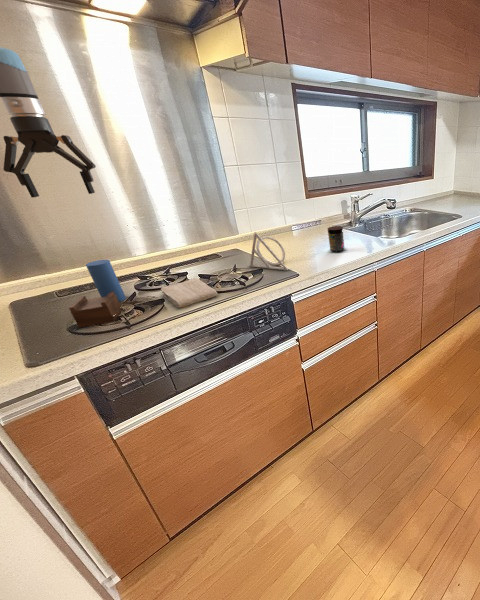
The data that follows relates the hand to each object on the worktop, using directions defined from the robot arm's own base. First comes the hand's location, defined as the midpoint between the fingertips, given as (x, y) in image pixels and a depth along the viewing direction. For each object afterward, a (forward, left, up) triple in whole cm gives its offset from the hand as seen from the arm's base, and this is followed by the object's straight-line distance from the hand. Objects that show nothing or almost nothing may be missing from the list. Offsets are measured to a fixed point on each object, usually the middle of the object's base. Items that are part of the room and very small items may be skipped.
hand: (64, 195), depth 100 cm
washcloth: (+32, -13, -32) cm, 47 cm away
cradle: (+13, -24, -32) cm, 42 cm away
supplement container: (+80, +26, -32) cm, 90 cm away
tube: (+9, -12, -25) cm, 29 cm away
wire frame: (+55, +12, -32) cm, 65 cm away
